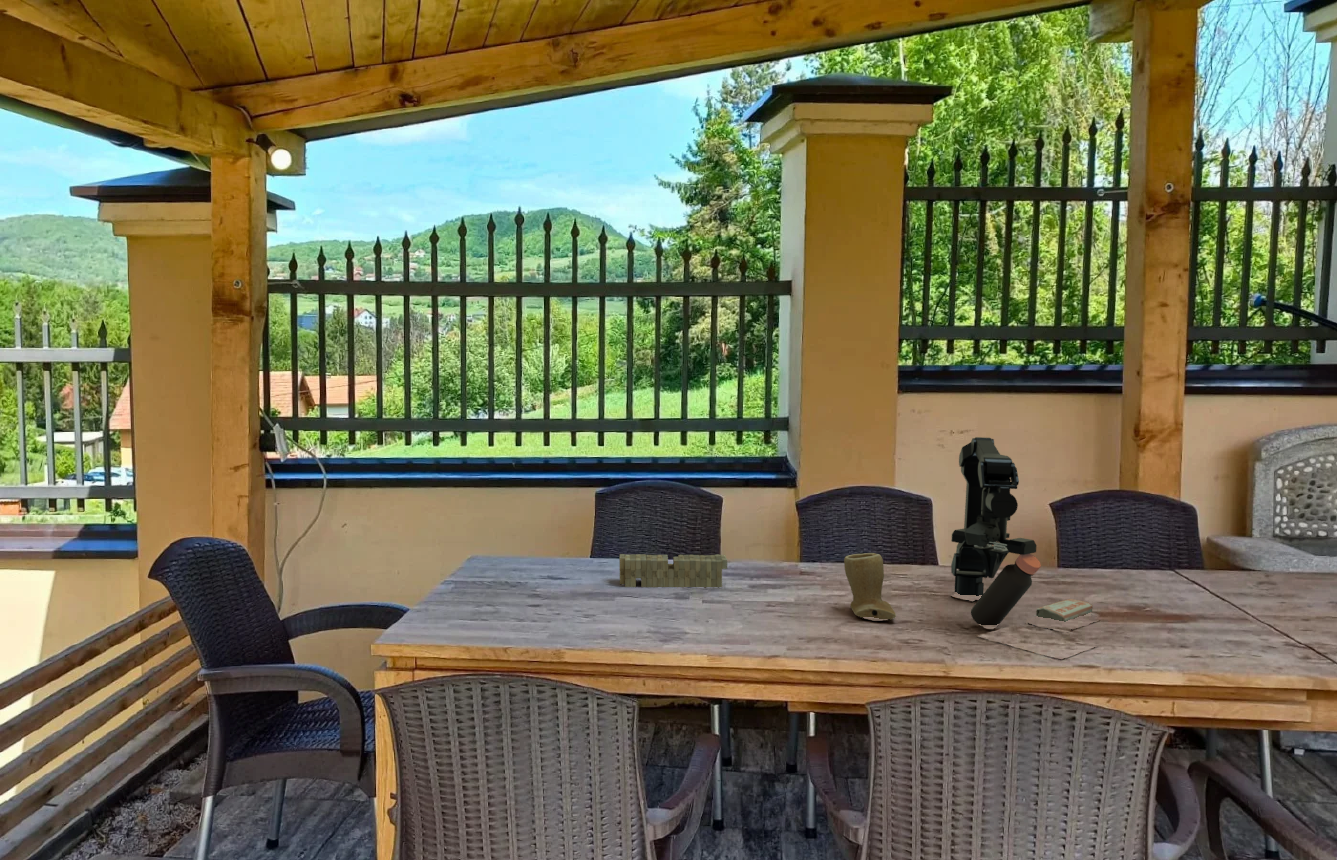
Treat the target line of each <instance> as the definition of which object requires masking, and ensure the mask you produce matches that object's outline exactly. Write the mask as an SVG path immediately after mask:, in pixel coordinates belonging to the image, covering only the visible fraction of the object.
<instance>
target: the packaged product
mask: <svg viewBox="0 0 1337 860" xmlns="http://www.w3.org/2000/svg"><path fill="white" fill-rule="evenodd" d="M1093 609H1094V608H1093V605H1092V604H1091V603H1089V602H1088V601H1083V600H1079V599H1075V598H1067V599H1064V600H1063V599H1062V600H1059V601H1055V602H1054V603H1050V604H1047V605H1043V606H1040V607H1037V608H1036V611H1035V612H1036V613H1035V614H1036V615H1035V616H1038V617H1043V618H1051V619H1054V620H1059V621H1064V622H1066V621H1068V620H1070V619H1075V618H1077V617H1079V616H1084V615H1086V614H1088V613H1090V612H1092V613H1093Z"/></svg>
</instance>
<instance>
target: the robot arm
mask: <svg viewBox="0 0 1337 860" xmlns="http://www.w3.org/2000/svg"><path fill="white" fill-rule="evenodd" d="M958 465H959V466H958V467H960V472H961V474H962V476H963V478H964V479H965V482H966V485H965V486H966V488H965V489H966V490H965V502H964V503H965V504H964V505H965V506H964V521H963V522H964V523H963V524H964V525H963V526H964V527H963V528H958V529H954V530H953V531H952V533H951V538H950V539H951V543H958V544H957V545H956V550H955V551H956V552H954V553H953V556H952V560H951V567H950V571H951V574H952V575H953V576H954V592H957V593H958V594H960V595H976V596H979V595H983V594H984V588H985V587H984V585H985V584H984V582H983V578H985V579H987V578H989V579H994V578H995V576H996V575H997V572H998V570H999V569H1000V567H1001V565H1002V564H1003V562H1004V560H1005V558H1007V556H1008V554H1009V553H1011V554H1015V555H1025V554H1035V553H1037V546H1038V545H1037V544H1036V542H1035V540H1034V539H1030V538H1025V537H1018V538H1016V537H1015V538H1010V533H1008V531H1007V530H1008V528H1007V526H1008V521H1011V517H1012V516H1013V515H1015V514H1016V513H1017V510H1018V506H1019V505H1018V500H1017V498H1016V497H1015V496H1014V495H1013V494H1011V490H1018V486H1019V483H1020V480H1019V474H1018V469H1017V467H1016V464H1015V462H1013V459H1012V458H1011V457H1010V456H1008V455H1004V454H1001V453H1000V452H999V450H998V448H997V447H996V445H995V439H994V438H991V437H985V436H984V437H981V436H979V437H978V436H977V437H972V439H971V441H970V442H969V443H967V444H966V445H963V446H962V447H961V450H960V451H959V456H958ZM954 592H953V593H954Z"/></svg>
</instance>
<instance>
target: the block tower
mask: <svg viewBox="0 0 1337 860" xmlns="http://www.w3.org/2000/svg"><path fill="white" fill-rule="evenodd" d="M672 558H673V559H672V561H673V562H672V563H669V557H668V554H645V553H644V554H643V553H640V554H639V553H637V554H632V553H631V554H625V553H619V558H618V559H619V585H620V584H625V585H624V588H636V587H637V579H640V586H641V588H658V587H662V588H663V587H722V588H723V570H727V569H728V558H727V557H726V555H725V554H718V553H717V554H709V555H706V554H678V556H673V557H672Z"/></svg>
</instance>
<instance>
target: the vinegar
mask: <svg viewBox="0 0 1337 860" xmlns="http://www.w3.org/2000/svg"><path fill="white" fill-rule="evenodd" d="M1018 555H1019V556H1018V557H1017V558H1016V559H1015V561H1014V564H1013V563H1012V564H1006V565H1005V566H1004V567H1003V569H1001V571H1000V572H999V574H998V575H997V576H996V577H995V579H994V580H993V581H992V582H991V584H990V585H989V586H988V587H987V589H986V590H985V591H984V592H983V595H982V596H981V598H980V599H979V600H978V601H976V603H975V604H974V605H973V606H972V608H971V610H970V616H971V617H972V619H973V621H974V622H975V623H976V624H977V625H978V624H981V625H997V624H999V625H1000V624H1001V622H1002V621H1003V620H1004V619H1005V617H1007V615H1008V614H1009V613H1010V612H1011V610H1012V609H1013V608H1014V607H1015V606H1016V604H1017V603H1018V602H1019V601H1020V600H1021V598H1022V597H1023V596H1024V595H1025V593H1026V592H1027V591H1028V590H1029V589H1030V588H1031V586H1033V585H1032V584H1033V580H1032V577H1033V576H1034V575H1035V574H1036V573H1037V572H1038V571H1039V570H1040V569H1041V566H1042V565H1041V561H1039V559H1038V558H1037V557H1036V556H1034V555H1033V554H1032V553H1030V554H1025V555H1020V554H1018Z"/></svg>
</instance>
